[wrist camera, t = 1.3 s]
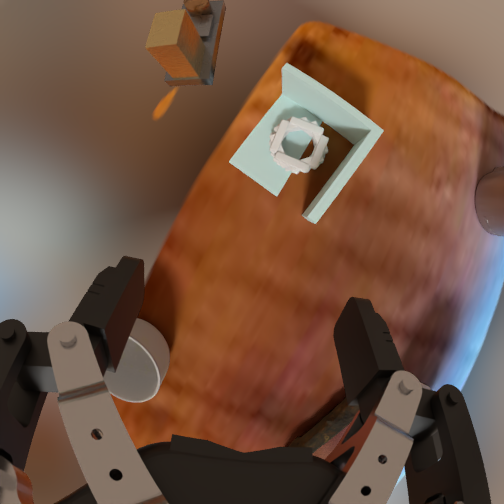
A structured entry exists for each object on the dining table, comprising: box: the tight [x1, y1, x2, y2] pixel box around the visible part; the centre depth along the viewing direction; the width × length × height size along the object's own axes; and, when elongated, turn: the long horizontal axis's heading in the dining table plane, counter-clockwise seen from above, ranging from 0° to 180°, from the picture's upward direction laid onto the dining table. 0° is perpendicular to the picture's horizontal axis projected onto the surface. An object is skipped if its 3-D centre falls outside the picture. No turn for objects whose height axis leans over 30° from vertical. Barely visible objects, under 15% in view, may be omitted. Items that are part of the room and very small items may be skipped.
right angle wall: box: [229, 63, 384, 224], centre depth 30 cm, size 12×12×8 cm
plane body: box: [165, 0, 226, 86], centre depth 30 cm, size 14×6×5 cm, turn 175°
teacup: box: [103, 318, 170, 402], centre depth 36 cm, size 14×11×8 cm
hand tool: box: [288, 398, 360, 453], centre depth 37 cm, size 19×4×5 cm, turn 141°
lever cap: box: [145, 9, 205, 79], centre depth 27 cm, size 5×4×9 cm
